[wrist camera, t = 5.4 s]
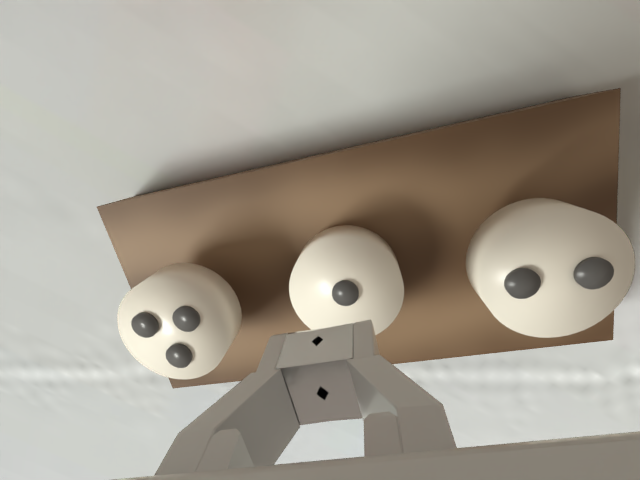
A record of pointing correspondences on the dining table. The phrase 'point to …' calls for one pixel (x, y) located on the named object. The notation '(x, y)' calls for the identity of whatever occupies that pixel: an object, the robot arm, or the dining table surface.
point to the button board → (381, 224)
